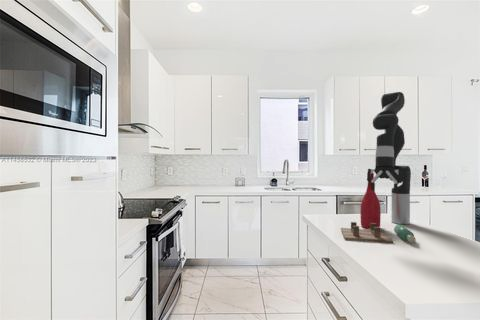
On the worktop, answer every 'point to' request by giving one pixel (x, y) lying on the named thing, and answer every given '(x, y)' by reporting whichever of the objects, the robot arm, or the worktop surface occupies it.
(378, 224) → the wine bottle
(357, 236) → the walnut bottle rack
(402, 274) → the worktop surface
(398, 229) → the green bottle
